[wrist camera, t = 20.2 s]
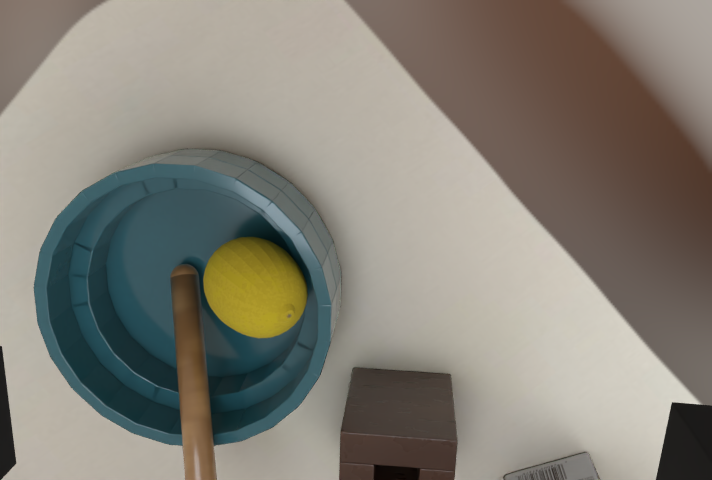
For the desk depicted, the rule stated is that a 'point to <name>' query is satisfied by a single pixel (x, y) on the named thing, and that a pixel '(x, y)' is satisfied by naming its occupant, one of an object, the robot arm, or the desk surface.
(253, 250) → the lemon
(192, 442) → the stirring stick
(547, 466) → the coffee box
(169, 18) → the desk surface
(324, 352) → the bowl
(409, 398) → the utensil block
